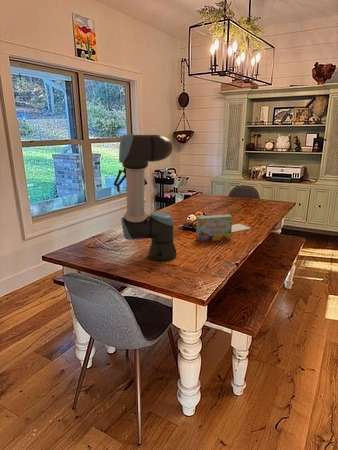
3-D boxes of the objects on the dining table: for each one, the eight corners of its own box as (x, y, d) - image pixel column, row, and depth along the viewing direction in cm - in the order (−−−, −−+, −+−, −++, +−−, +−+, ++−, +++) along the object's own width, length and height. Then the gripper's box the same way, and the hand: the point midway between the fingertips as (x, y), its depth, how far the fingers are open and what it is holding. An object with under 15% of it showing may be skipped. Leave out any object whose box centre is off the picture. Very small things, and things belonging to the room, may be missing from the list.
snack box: (199, 242, 190) (199, 218, 185) (195, 239, 195) (196, 216, 190) (231, 239, 195) (232, 215, 191) (227, 236, 200) (228, 213, 196)
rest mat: (252, 228, 215) (252, 227, 215) (222, 234, 203) (222, 233, 203) (240, 224, 225) (240, 223, 225) (210, 229, 213) (210, 228, 213)
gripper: (149, 160, 194) (150, 194, 200) (108, 161, 189) (110, 196, 195) (151, 161, 187) (152, 196, 193) (108, 162, 182) (110, 198, 188)
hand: (131, 196), depth 194 cm, fingers open, 13 cm apart
